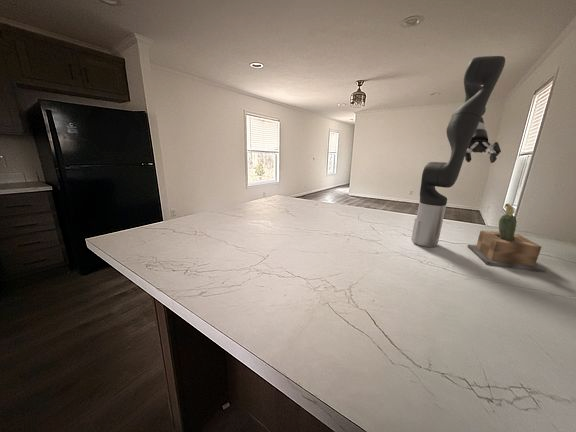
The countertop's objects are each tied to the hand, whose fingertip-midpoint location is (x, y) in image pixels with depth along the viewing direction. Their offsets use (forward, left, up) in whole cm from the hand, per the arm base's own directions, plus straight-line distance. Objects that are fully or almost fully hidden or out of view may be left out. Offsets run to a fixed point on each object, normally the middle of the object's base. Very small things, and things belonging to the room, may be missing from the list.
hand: (481, 161), depth 98 cm
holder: (+4, -25, -34) cm, 42 cm away
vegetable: (+4, -24, -33) cm, 41 cm away
